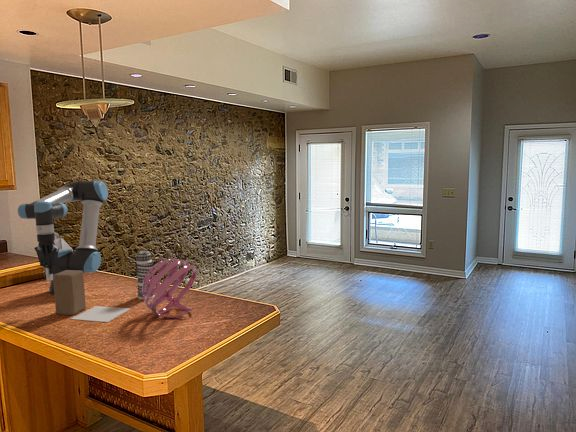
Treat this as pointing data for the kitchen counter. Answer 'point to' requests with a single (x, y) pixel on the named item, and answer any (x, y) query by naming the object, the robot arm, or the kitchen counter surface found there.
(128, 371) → the kitchen counter surface
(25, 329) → the kitchen counter surface
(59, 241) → the gable box
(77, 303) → the wooden block
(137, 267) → the decorative candle
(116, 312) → the mat
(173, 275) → the spiral basket
